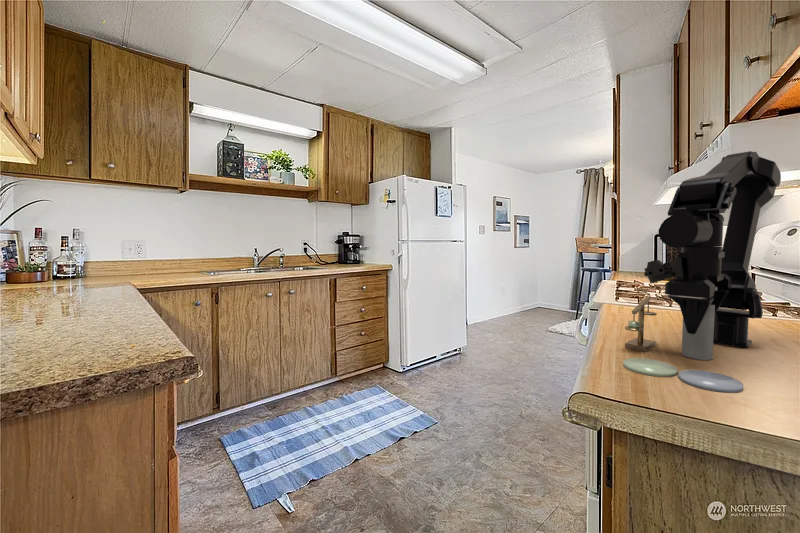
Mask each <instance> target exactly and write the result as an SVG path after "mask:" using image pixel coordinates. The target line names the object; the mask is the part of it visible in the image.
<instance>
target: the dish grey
mask: <svg viewBox="0 0 800 533" xmlns="http://www.w3.org/2000/svg"><path fill="white" fill-rule="evenodd" d="M677 377H678V379H679V380H680V381H682V382H683V383H685V384H687V385H688V386H689V385H690V386H692V387H696V388H699V389H703V390H706V391H712V392H718V393H726V394H727V393H730V394H731V393H740V392H742V391H744V383H743V382H742V381H740V380H738V378H737V379H736V378H734V377H731V376H728V375H725V374H723V373H717V372H714V371H709V370H708V371H707V370H700V369H684V370H683V369H682V370H680V371H679V372H678V376H677Z"/></svg>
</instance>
